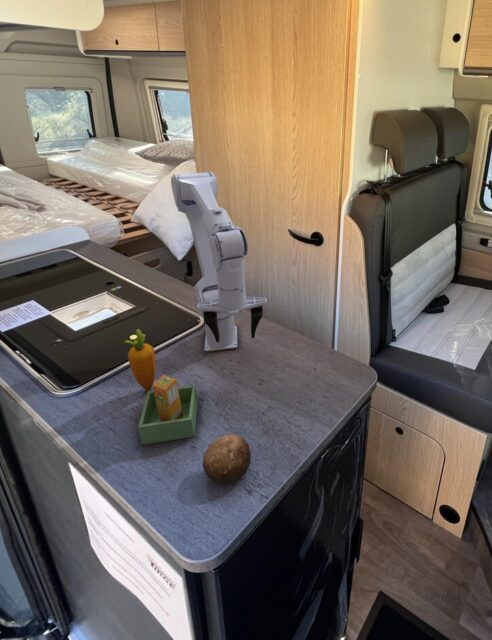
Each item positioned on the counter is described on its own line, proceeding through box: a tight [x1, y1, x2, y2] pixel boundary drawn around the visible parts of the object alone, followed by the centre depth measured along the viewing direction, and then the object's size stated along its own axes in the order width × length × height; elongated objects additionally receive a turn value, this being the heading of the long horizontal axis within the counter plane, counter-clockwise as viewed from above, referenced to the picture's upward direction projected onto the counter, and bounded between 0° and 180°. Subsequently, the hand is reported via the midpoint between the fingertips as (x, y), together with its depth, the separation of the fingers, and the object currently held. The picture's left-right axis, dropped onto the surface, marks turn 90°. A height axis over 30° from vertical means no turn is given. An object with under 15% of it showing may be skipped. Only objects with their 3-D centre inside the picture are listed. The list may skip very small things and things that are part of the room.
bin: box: [137, 384, 199, 446], centre depth 76 cm, size 9×9×4 cm
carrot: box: [124, 328, 157, 391], centre depth 81 cm, size 5×5×15 cm
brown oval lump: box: [202, 433, 252, 484], centre depth 68 cm, size 8×8×6 cm
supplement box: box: [152, 374, 183, 422], centre depth 75 cm, size 3×3×10 cm
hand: (235, 337), depth 88 cm, fingers open, 7 cm apart
